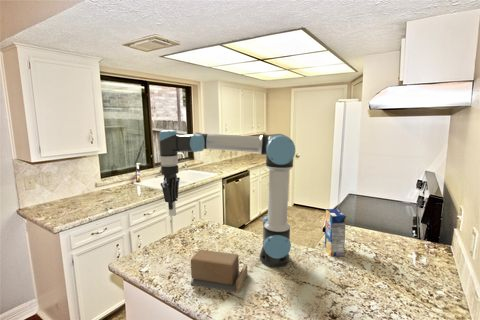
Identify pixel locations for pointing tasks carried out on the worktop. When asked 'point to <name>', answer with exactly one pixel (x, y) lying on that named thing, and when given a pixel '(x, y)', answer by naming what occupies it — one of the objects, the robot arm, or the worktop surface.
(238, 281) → the stop rail
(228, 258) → the wooden block
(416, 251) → the worktop surface
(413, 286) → the worktop surface
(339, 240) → the beverage box
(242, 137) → the robot arm
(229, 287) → the mat
